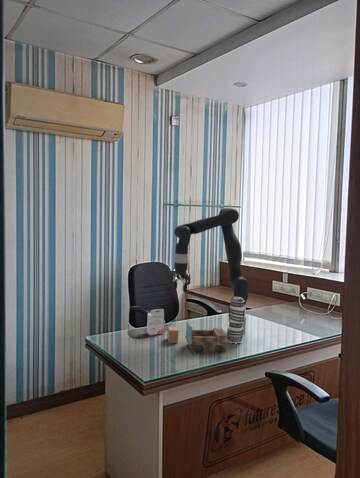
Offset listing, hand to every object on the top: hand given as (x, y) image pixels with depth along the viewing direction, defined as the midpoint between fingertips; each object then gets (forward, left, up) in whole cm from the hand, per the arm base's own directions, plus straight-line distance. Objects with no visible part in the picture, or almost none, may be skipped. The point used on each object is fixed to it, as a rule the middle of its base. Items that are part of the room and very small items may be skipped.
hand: (179, 290), depth 225 cm
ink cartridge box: (+12, -5, -27) cm, 30 cm away
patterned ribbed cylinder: (-32, +7, -27) cm, 42 cm away
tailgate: (-3, +18, -23) cm, 29 cm away
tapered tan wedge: (+3, +7, -27) cm, 28 cm away
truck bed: (-14, +18, -27) cm, 35 cm away
